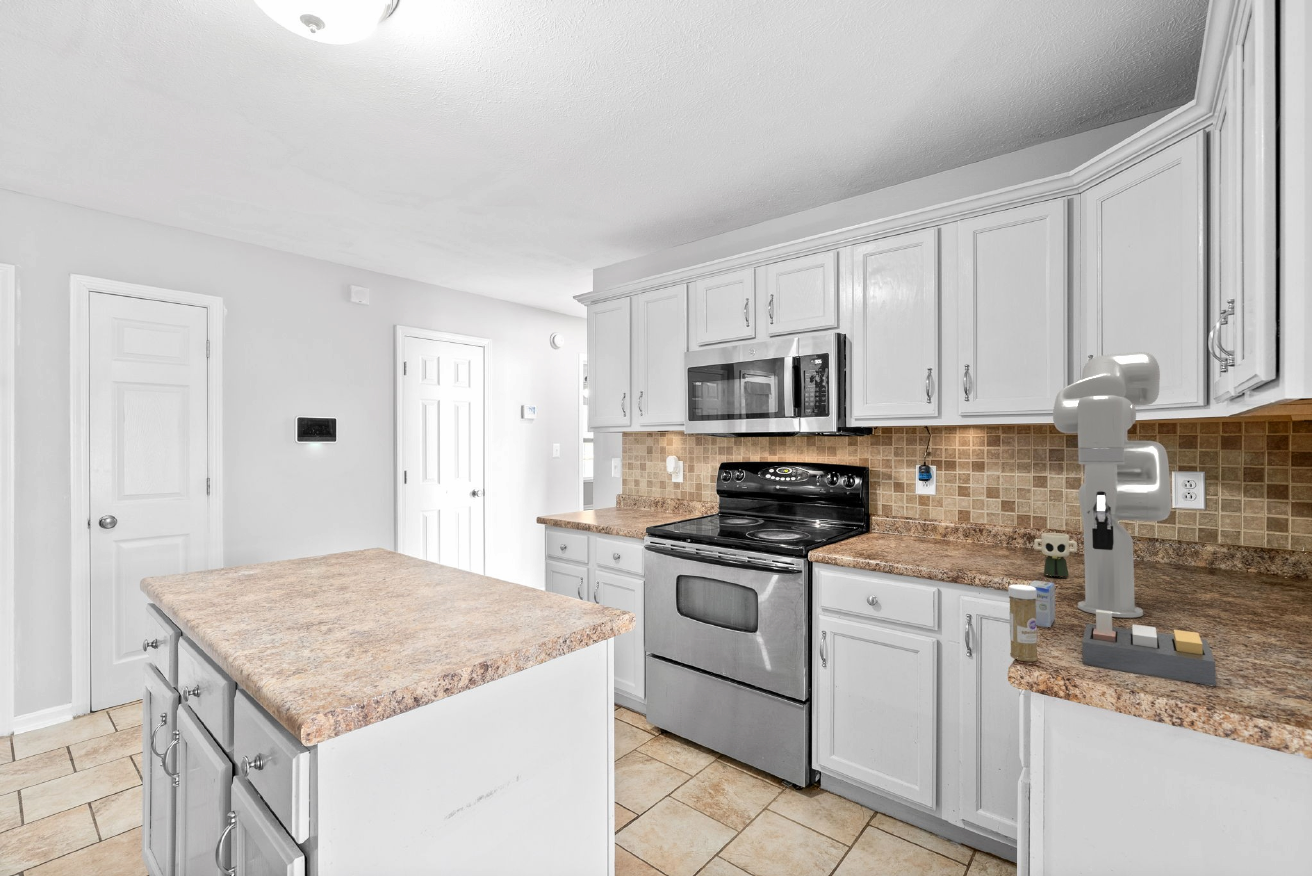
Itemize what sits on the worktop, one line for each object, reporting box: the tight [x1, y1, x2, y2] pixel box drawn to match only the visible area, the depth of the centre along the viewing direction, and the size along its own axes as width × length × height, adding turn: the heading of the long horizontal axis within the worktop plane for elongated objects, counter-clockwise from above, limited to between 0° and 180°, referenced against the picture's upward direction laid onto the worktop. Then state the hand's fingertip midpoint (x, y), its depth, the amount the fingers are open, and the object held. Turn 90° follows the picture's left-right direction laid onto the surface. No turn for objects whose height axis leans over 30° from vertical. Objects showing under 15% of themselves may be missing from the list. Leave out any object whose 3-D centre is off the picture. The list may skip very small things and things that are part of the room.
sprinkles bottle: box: [1007, 584, 1039, 663], centre depth 116 cm, size 5×5×14 cm
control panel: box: [1082, 623, 1217, 687], centre depth 113 cm, size 15×18×4 cm
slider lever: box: [1093, 610, 1116, 642], centre depth 118 cm, size 4×3×5 cm
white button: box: [1132, 624, 1157, 648], centre depth 113 cm, size 8×3×2 cm, turn 143°
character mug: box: [1033, 532, 1078, 577], centre depth 189 cm, size 11×7×13 cm, turn 57°
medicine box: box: [1028, 580, 1056, 628], centre depth 140 cm, size 8×4×9 cm, turn 141°
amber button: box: [1173, 629, 1203, 655], centre depth 109 cm, size 8×3×2 cm, turn 143°
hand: (1103, 546), depth 124 cm, fingers open, 6 cm apart
